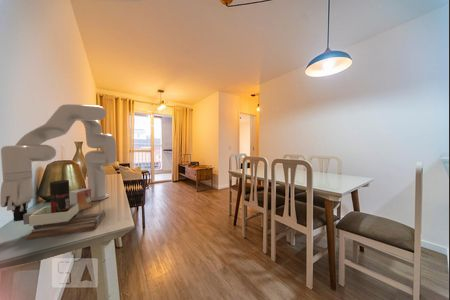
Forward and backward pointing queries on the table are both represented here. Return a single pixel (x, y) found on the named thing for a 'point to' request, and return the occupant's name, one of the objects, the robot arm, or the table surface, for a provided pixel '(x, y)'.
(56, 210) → the deodorant
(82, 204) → the small box
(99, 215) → the rail board
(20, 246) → the table surface
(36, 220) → the white open tray
